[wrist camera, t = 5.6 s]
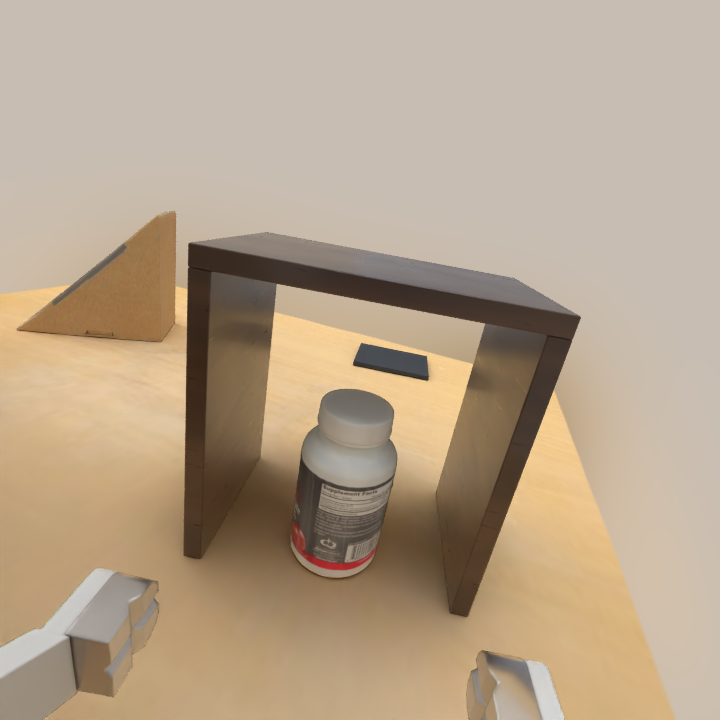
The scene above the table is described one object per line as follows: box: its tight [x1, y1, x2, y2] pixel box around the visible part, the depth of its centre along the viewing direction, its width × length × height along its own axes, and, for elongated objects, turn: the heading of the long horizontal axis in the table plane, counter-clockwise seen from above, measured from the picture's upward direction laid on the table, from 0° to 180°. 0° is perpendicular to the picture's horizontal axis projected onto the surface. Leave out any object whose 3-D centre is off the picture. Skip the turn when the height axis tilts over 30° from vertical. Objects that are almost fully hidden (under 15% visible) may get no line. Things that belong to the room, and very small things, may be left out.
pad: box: [353, 343, 429, 380], centre depth 56 cm, size 10×8×1 cm
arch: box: [184, 232, 581, 616], centre depth 24 cm, size 10×16×17 cm, turn 84°
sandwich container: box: [17, 211, 176, 342], centre depth 48 cm, size 9×15×15 cm, turn 102°
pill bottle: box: [290, 389, 397, 578], centre depth 23 cm, size 5×5×10 cm
